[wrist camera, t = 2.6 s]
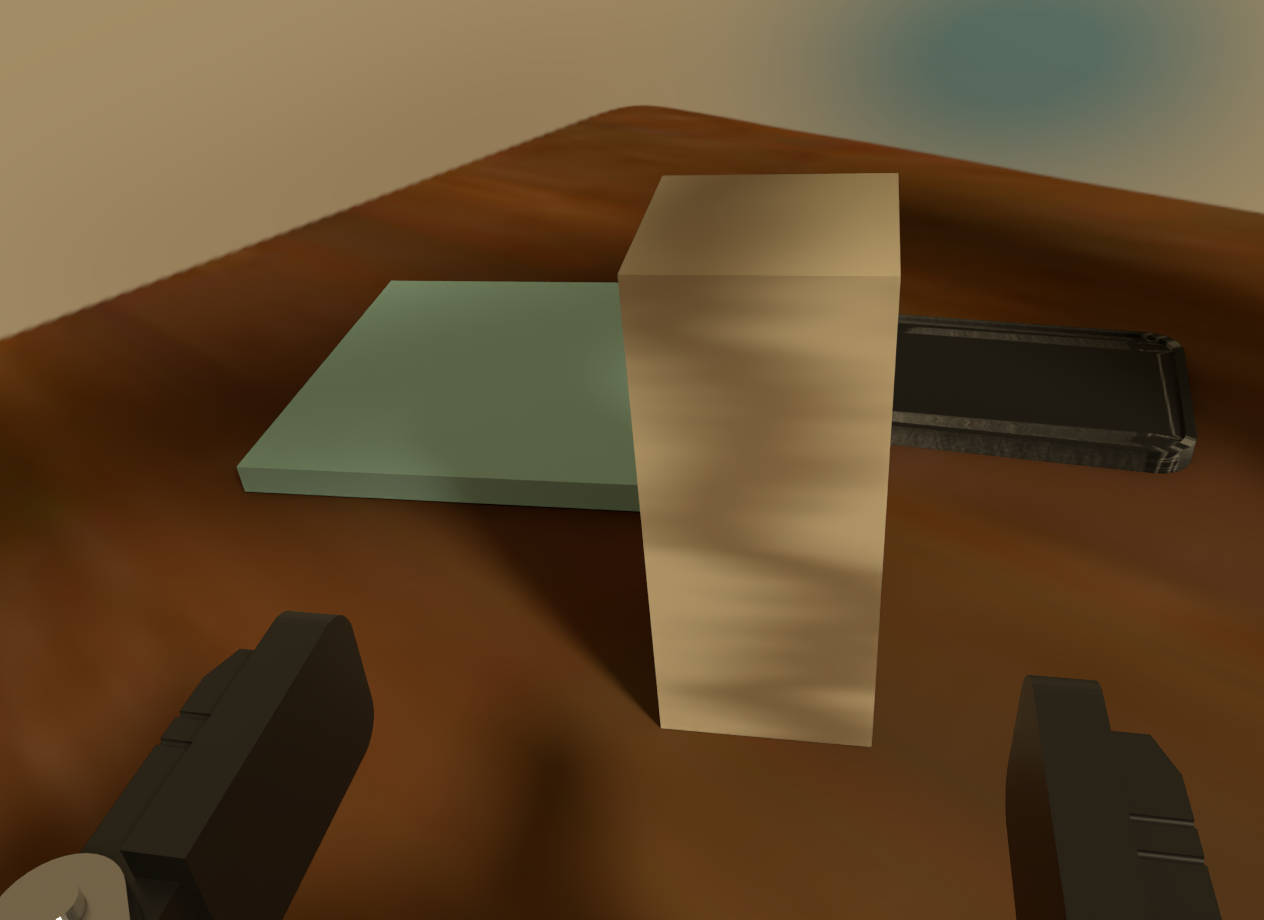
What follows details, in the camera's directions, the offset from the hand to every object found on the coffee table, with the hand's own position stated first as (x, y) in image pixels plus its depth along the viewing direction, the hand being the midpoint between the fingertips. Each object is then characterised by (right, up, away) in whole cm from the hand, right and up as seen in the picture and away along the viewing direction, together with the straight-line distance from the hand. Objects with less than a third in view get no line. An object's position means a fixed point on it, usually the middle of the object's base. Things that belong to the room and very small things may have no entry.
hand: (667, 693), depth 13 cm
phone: (+11, +5, +26) cm, 28 cm away
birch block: (+3, -2, +15) cm, 16 cm away
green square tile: (-5, +5, +28) cm, 29 cm away
